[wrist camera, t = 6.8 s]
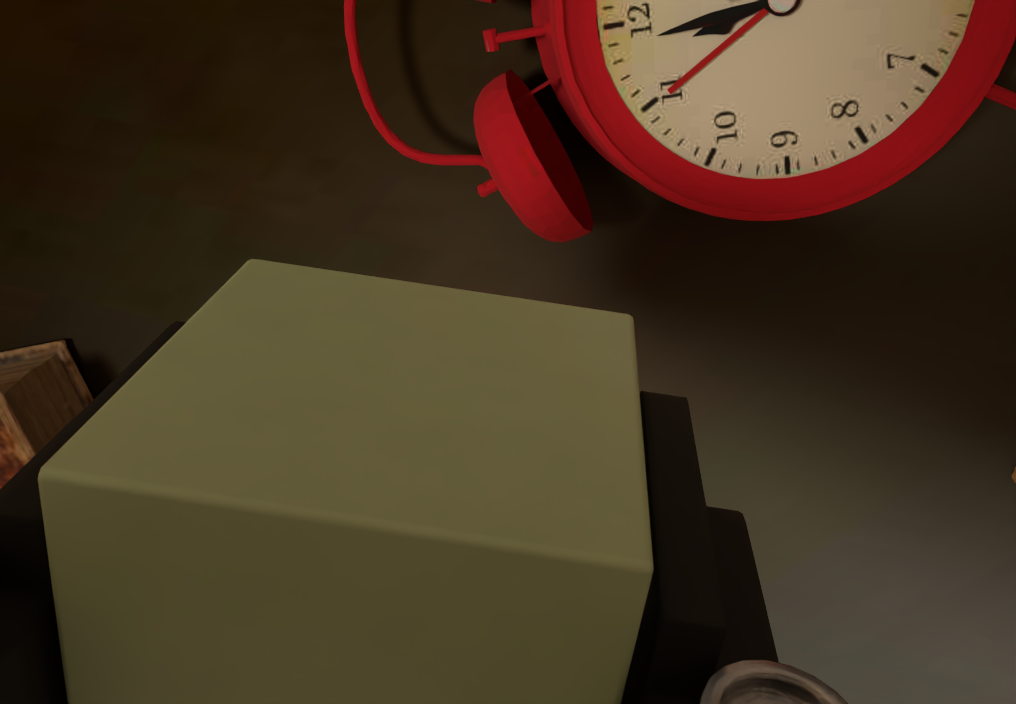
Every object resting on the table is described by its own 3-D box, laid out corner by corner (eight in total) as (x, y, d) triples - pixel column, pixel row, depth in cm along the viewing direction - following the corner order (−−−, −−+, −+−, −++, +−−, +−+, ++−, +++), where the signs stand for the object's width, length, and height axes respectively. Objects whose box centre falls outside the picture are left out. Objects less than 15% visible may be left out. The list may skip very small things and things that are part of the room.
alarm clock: (1107, 199, 19) (410, 356, 18) (939, 145, 25) (401, 263, 24) (1163, -412, 15) (260, -240, 14) (944, -309, 21) (293, -182, 20)
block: (249, 254, 11) (30, 470, 7) (634, 312, 11) (655, 566, 7) (251, 560, 13) (86, 869, 9) (574, 611, 13) (562, 950, 9)
